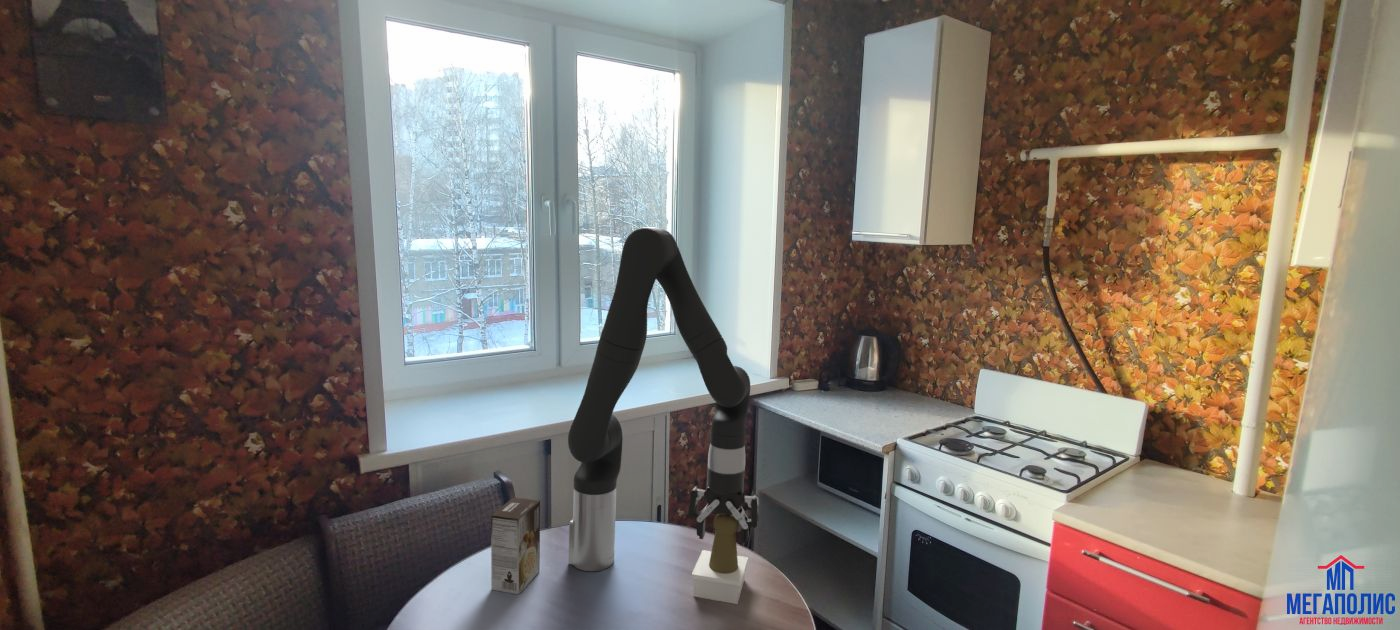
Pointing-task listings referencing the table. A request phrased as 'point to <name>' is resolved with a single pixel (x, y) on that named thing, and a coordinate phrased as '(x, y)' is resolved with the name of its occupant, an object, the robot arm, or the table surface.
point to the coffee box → (515, 545)
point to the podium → (718, 580)
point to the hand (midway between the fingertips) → (722, 540)
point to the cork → (724, 545)
